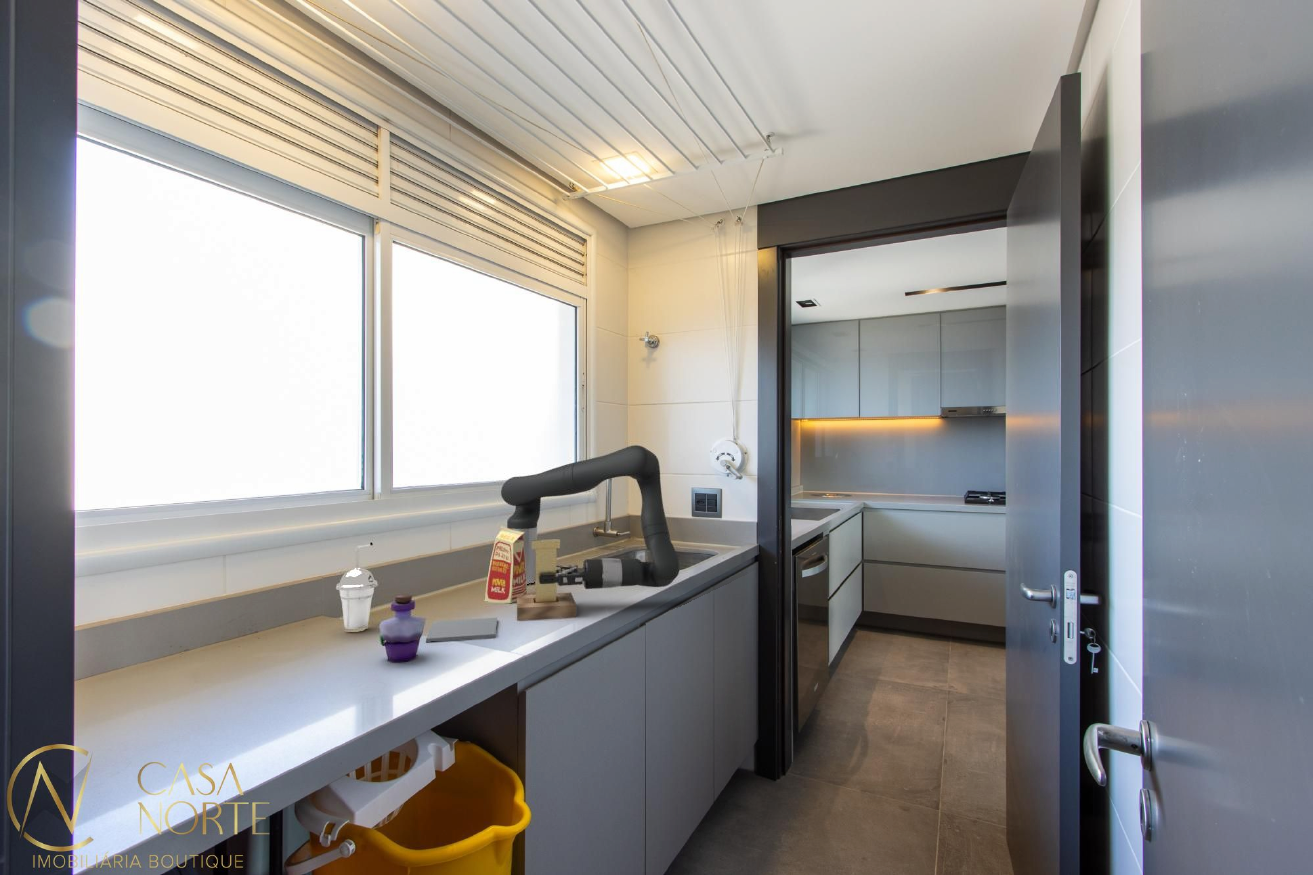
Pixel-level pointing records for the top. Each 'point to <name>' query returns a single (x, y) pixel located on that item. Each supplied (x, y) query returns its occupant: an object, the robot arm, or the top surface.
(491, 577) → the milk carton
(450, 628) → the slate mat
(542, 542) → the pale yellow tall block
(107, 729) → the top surface
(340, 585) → the cup with straw
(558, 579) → the robot arm
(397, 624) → the potion bottle
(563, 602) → the socket block
